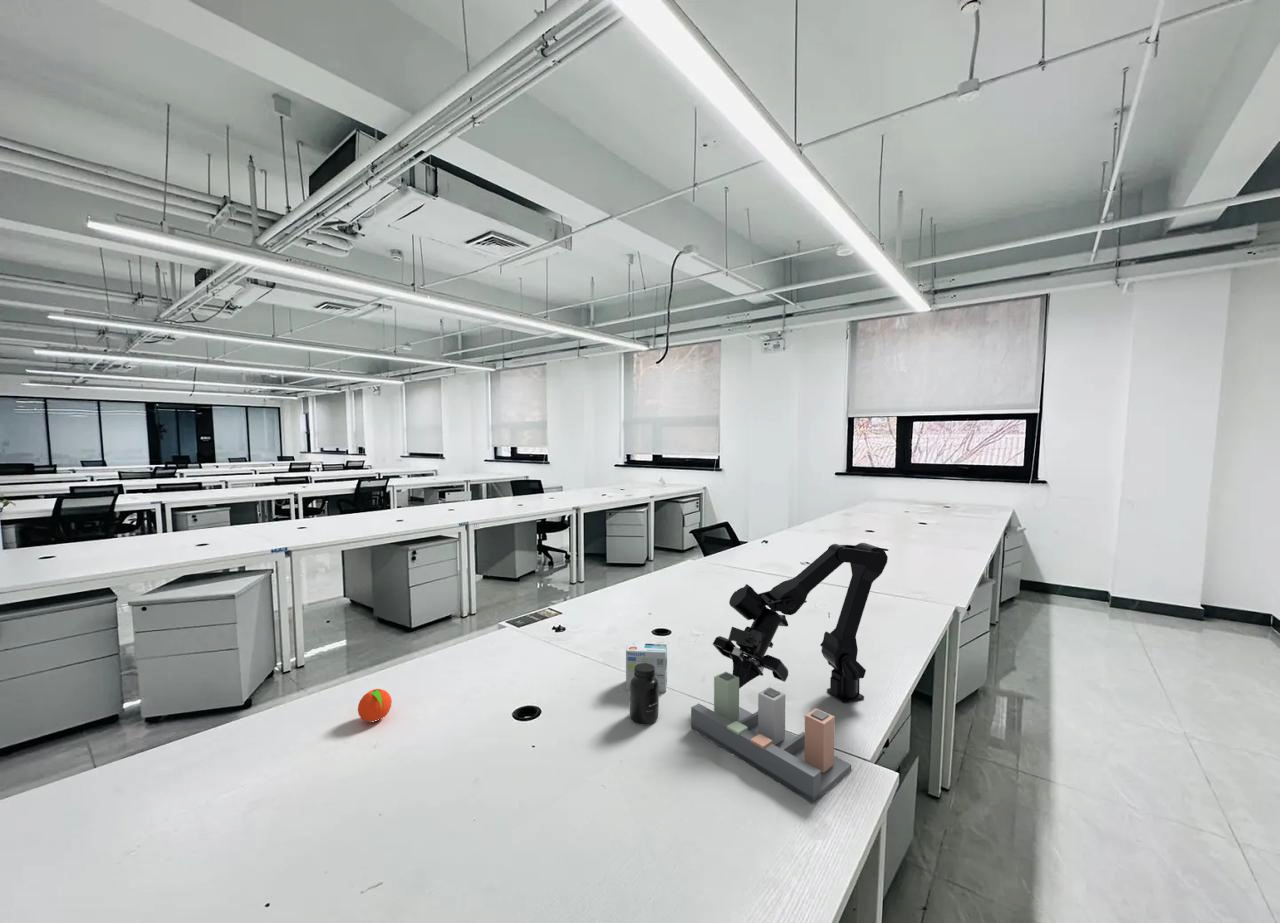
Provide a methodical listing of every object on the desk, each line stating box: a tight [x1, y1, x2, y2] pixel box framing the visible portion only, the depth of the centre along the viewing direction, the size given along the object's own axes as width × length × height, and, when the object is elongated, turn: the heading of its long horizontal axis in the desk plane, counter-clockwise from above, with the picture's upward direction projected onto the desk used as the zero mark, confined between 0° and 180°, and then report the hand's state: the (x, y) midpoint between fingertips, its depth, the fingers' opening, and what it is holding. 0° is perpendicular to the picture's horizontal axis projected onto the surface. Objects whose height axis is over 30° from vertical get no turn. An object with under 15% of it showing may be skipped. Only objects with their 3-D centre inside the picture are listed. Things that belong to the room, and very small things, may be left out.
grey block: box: [757, 686, 786, 745], centre depth 103 cm, size 4×4×10 cm
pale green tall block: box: [713, 671, 740, 722], centre depth 110 cm, size 4×4×10 cm
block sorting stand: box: [690, 703, 852, 805], centre depth 102 cm, size 14×30×6 cm, turn 40°
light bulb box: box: [625, 640, 668, 693], centre depth 129 cm, size 11×7×11 cm, turn 84°
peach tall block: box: [804, 707, 836, 773], centre depth 95 cm, size 4×4×10 cm
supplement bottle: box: [629, 663, 660, 726], centre depth 113 cm, size 7×7×12 cm
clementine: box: [357, 688, 393, 722], centre depth 112 cm, size 8×7×7 cm
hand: (732, 690), depth 112 cm, fingers closed, pressing on pale green tall block
